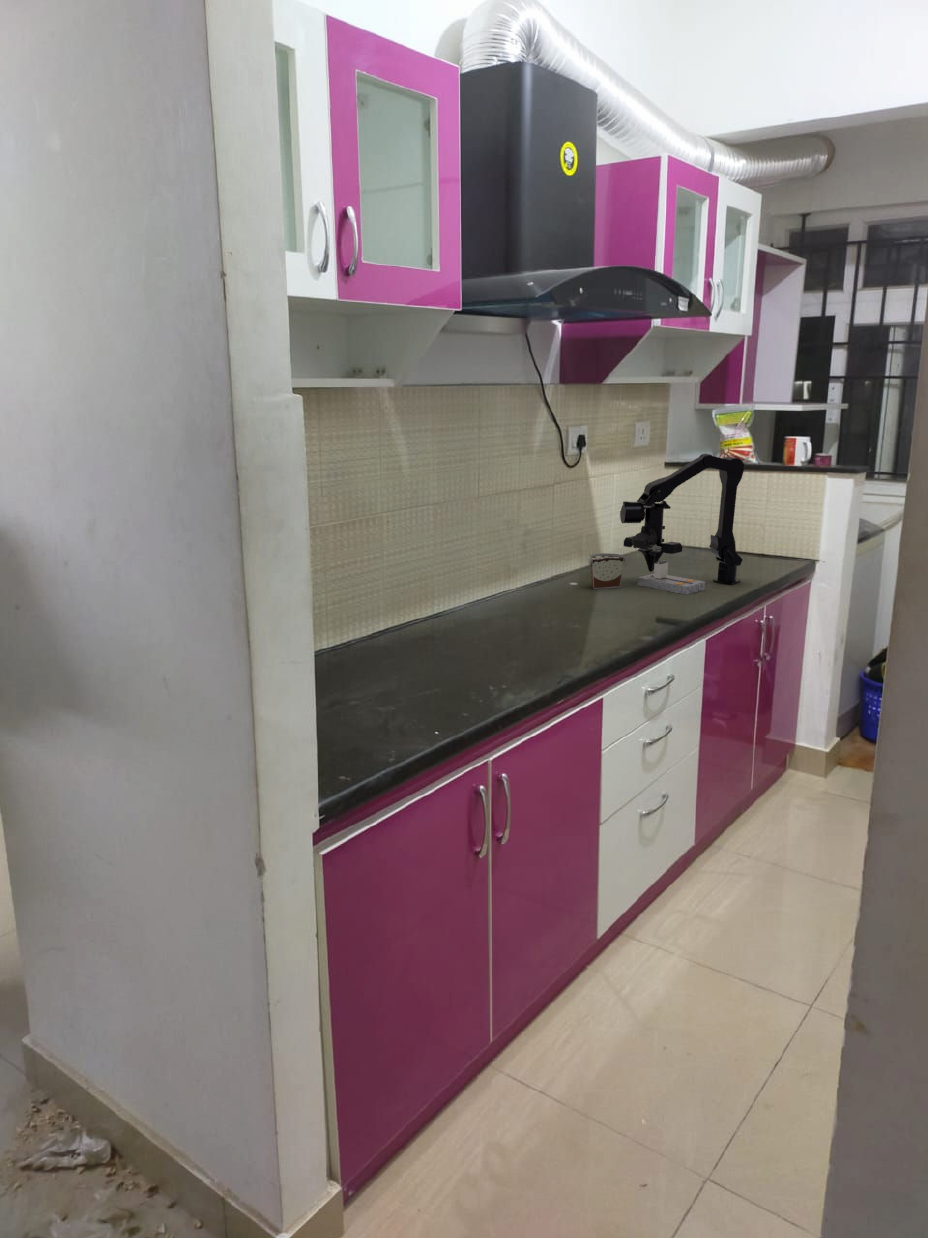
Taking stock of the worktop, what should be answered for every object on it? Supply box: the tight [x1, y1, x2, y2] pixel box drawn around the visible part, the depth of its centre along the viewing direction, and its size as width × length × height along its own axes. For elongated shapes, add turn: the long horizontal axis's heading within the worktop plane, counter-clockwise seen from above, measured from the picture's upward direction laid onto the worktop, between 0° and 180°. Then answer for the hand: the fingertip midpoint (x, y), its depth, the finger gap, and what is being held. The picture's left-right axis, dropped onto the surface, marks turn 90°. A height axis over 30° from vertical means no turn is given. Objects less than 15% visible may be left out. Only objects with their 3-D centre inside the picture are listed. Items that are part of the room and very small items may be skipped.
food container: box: [588, 552, 627, 590], centre depth 289 cm, size 12×6×10 cm, turn 109°
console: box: [637, 573, 706, 596], centre depth 288 cm, size 10×18×3 cm, turn 44°
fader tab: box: [653, 559, 669, 579], centre depth 290 cm, size 4×2×5 cm, turn 135°
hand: (650, 571), depth 293 cm, fingers closed
